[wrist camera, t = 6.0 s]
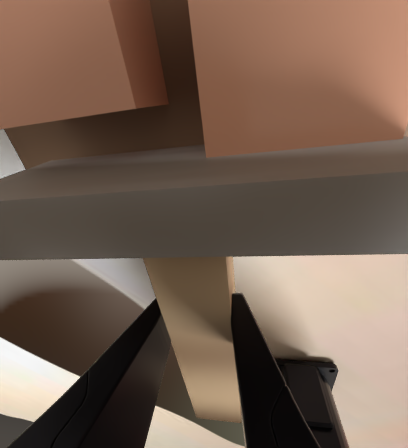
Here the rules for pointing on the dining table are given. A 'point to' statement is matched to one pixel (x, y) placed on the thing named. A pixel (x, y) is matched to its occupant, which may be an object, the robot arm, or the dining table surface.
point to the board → (131, 119)
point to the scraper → (208, 229)
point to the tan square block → (299, 73)
